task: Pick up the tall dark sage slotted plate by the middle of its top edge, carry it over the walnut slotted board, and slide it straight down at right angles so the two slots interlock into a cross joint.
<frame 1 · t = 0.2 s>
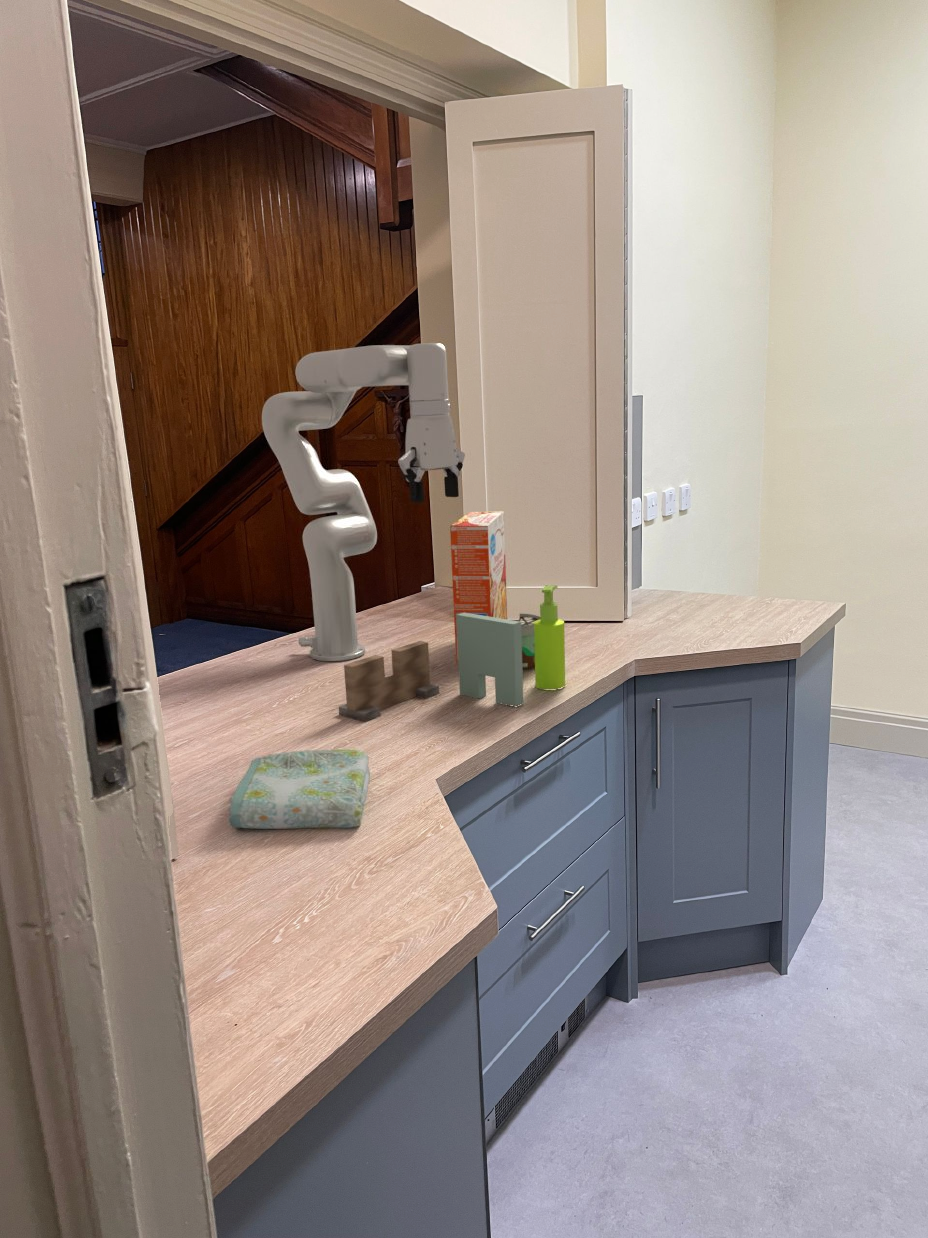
hand: (434, 499, 185), 37 cm above the worktop, tool pointing down, fingers open, 9 cm apart
walnut slotted board: (390, 703, 180), on the worktop
food container: (531, 665, 202), on the worktop
cereal box: (483, 649, 216), on the worktop
towel: (305, 804, 139), on the worktop
soap dispenser: (551, 686, 188), on the worktop
sage slotted plate: (490, 699, 181), on the worktop
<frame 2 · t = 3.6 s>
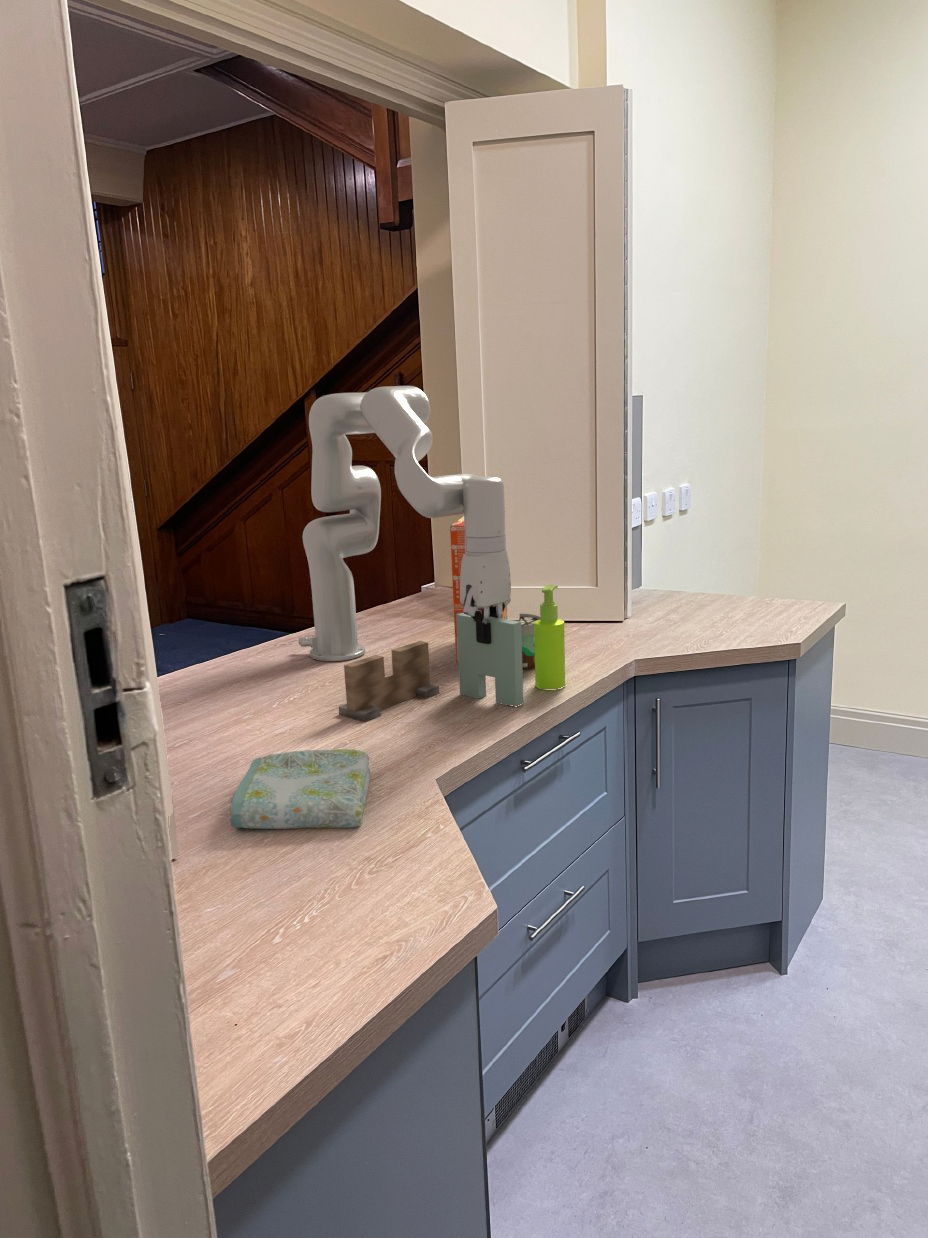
hand: (488, 640, 178), 12 cm above the worktop, tool pointing down, fingers closed on sage slotted plate, 2 cm apart
sage slotted plate: (490, 699, 181), on the worktop, touching gripper
everything else where it was.
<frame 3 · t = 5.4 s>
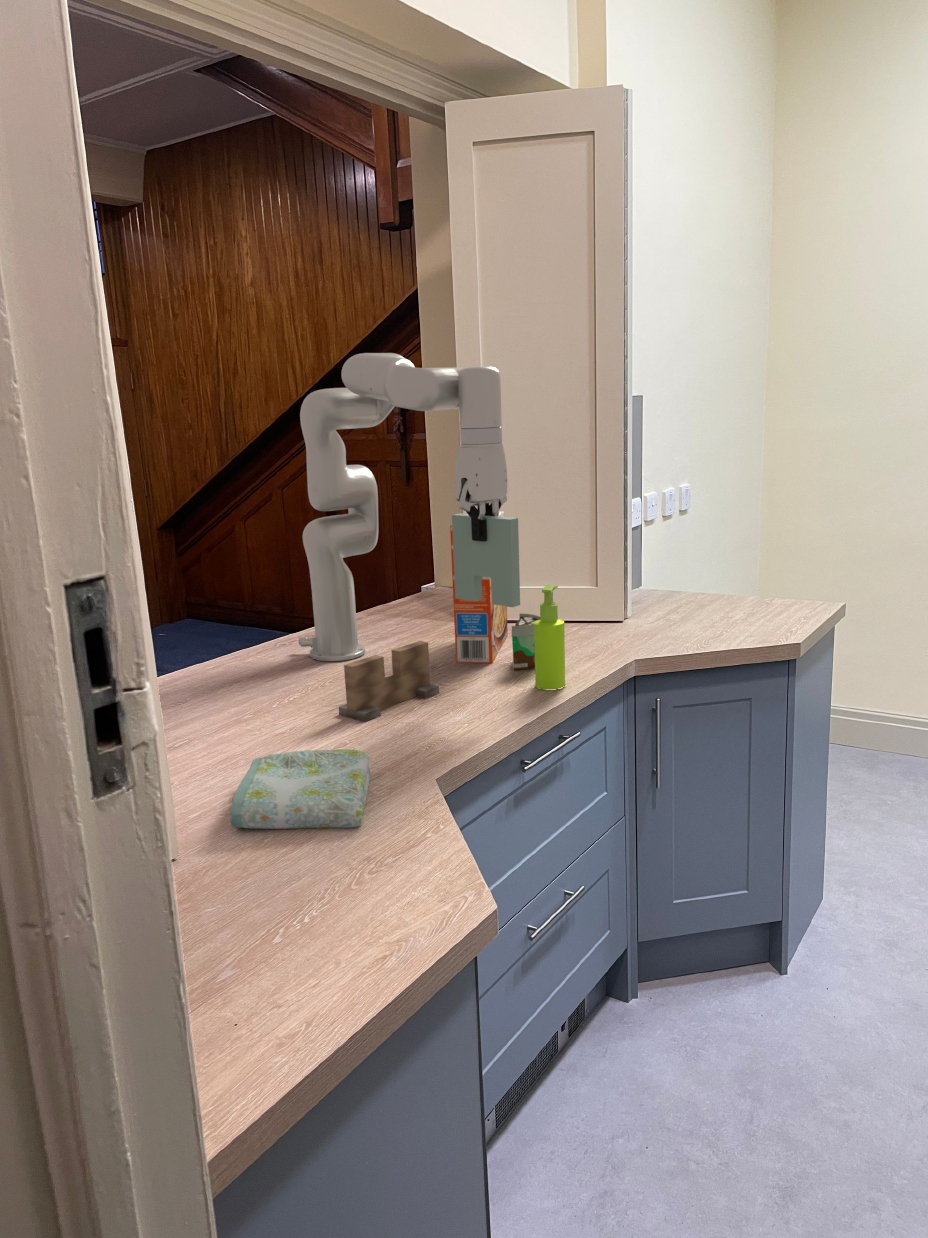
hand: (484, 538, 173), 31 cm above the worktop, tool pointing down, fingers closed on sage slotted plate
sage slotted plate: (487, 601, 176), point 19 cm above the worktop, touching gripper
everything else where it was.
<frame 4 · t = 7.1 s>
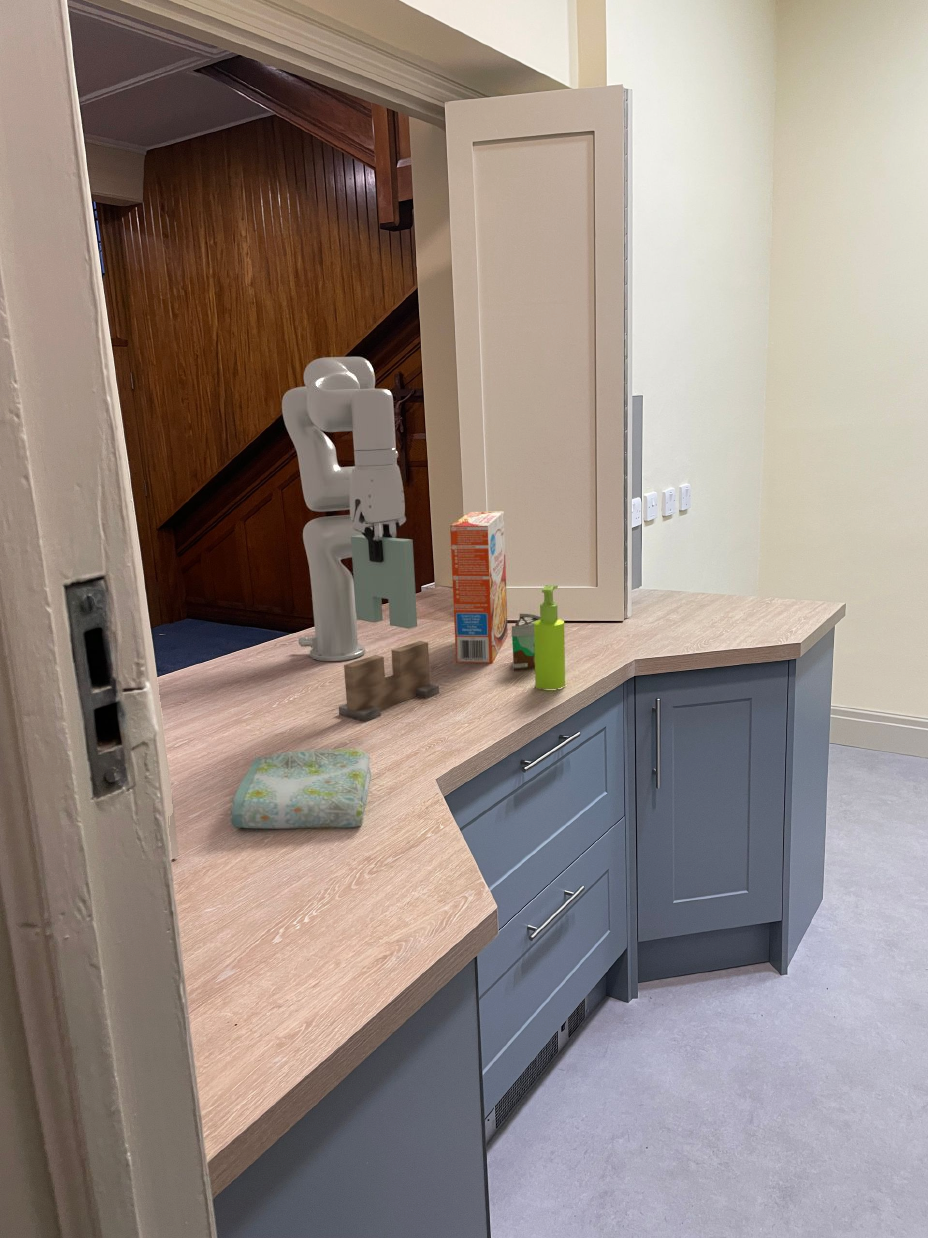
hand: (382, 559, 174), 28 cm above the worktop, tool pointing down, fingers closed on sage slotted plate
sage slotted plate: (386, 622, 176), point 16 cm above the worktop, touching gripper
everything else where it was.
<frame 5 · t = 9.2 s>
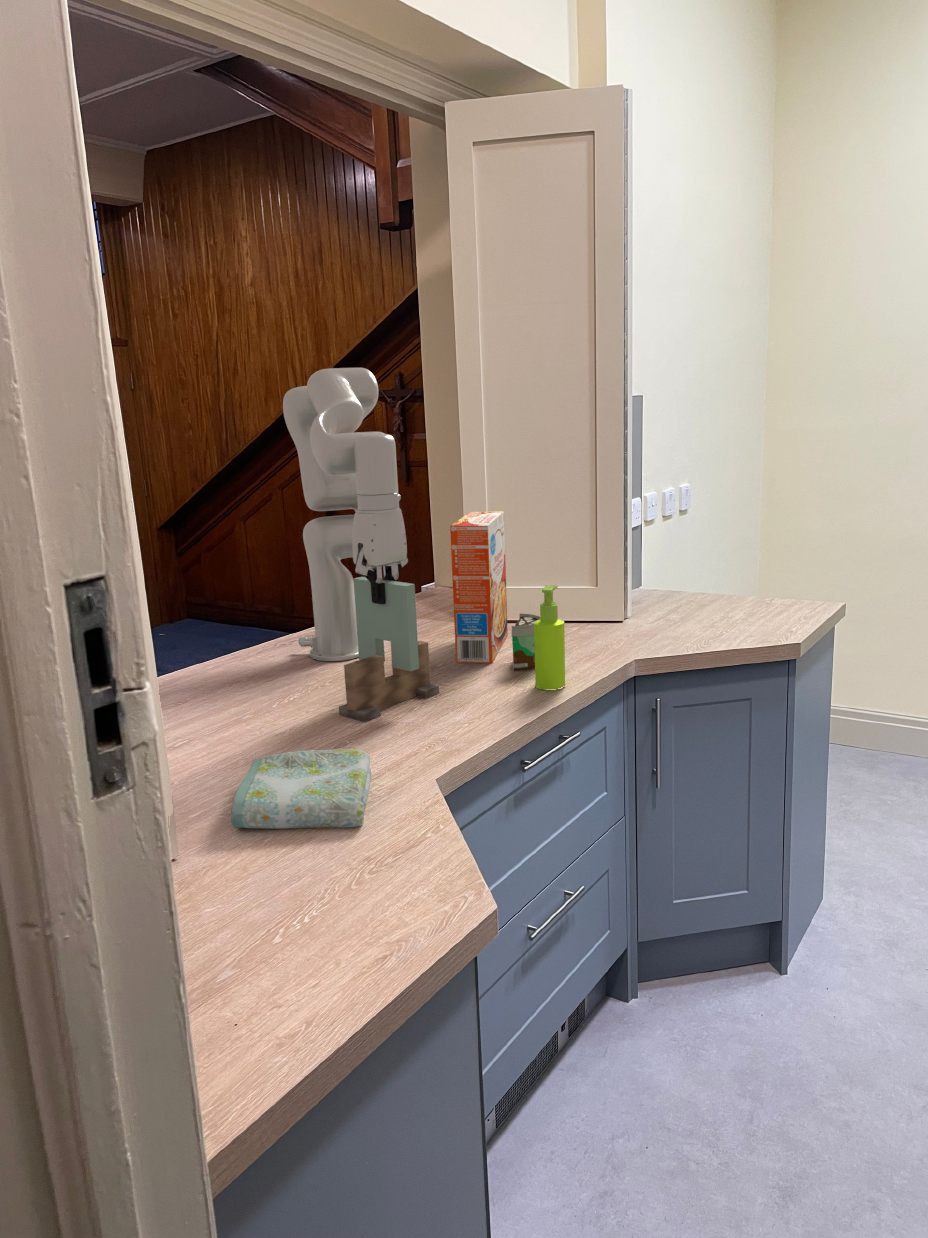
hand: (384, 601, 176), 20 cm above the worktop, tool pointing down, fingers closed on sage slotted plate
sage slotted plate: (388, 664, 178), point 8 cm above the worktop, touching gripper
everything else where it was.
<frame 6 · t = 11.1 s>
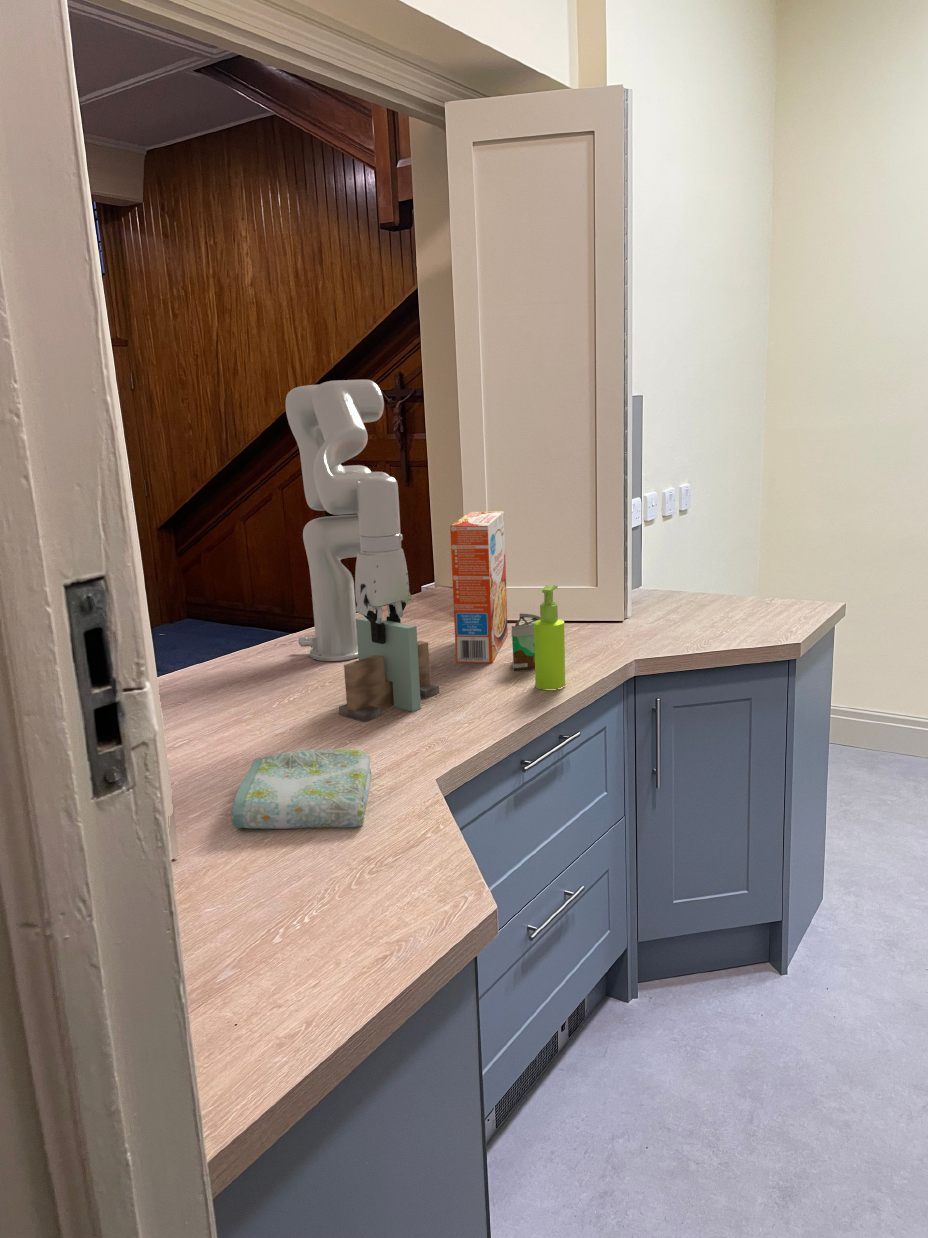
hand: (386, 639, 177), 13 cm above the worktop, tool pointing down, fingers open, 3 cm apart
sage slotted plate: (390, 703, 181), on the worktop, touching walnut slotted board
everything else where it was.
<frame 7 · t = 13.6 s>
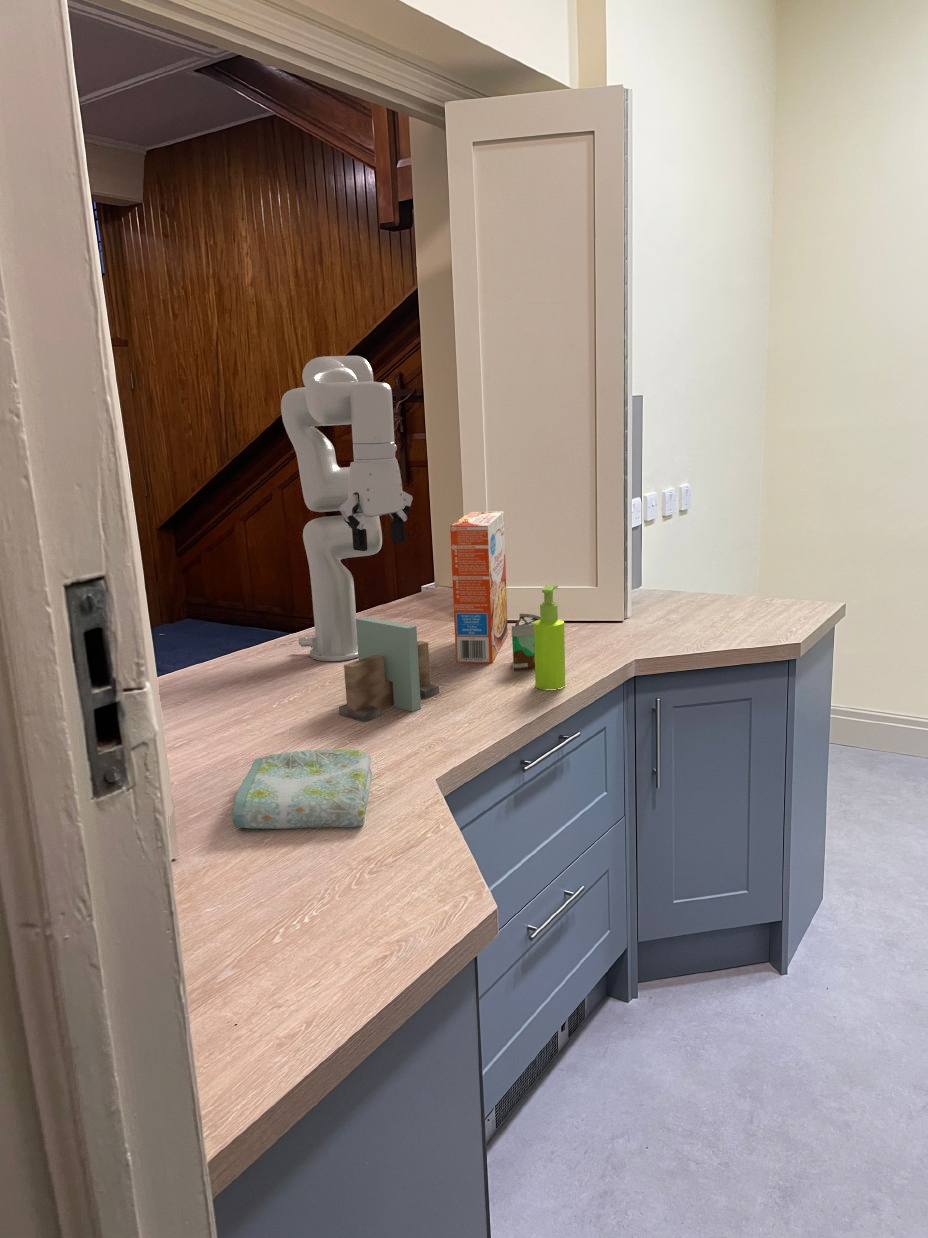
hand: (379, 546, 175), 30 cm above the worktop, tool pointing down, fingers open, 9 cm apart
nothing on the worktop moved.
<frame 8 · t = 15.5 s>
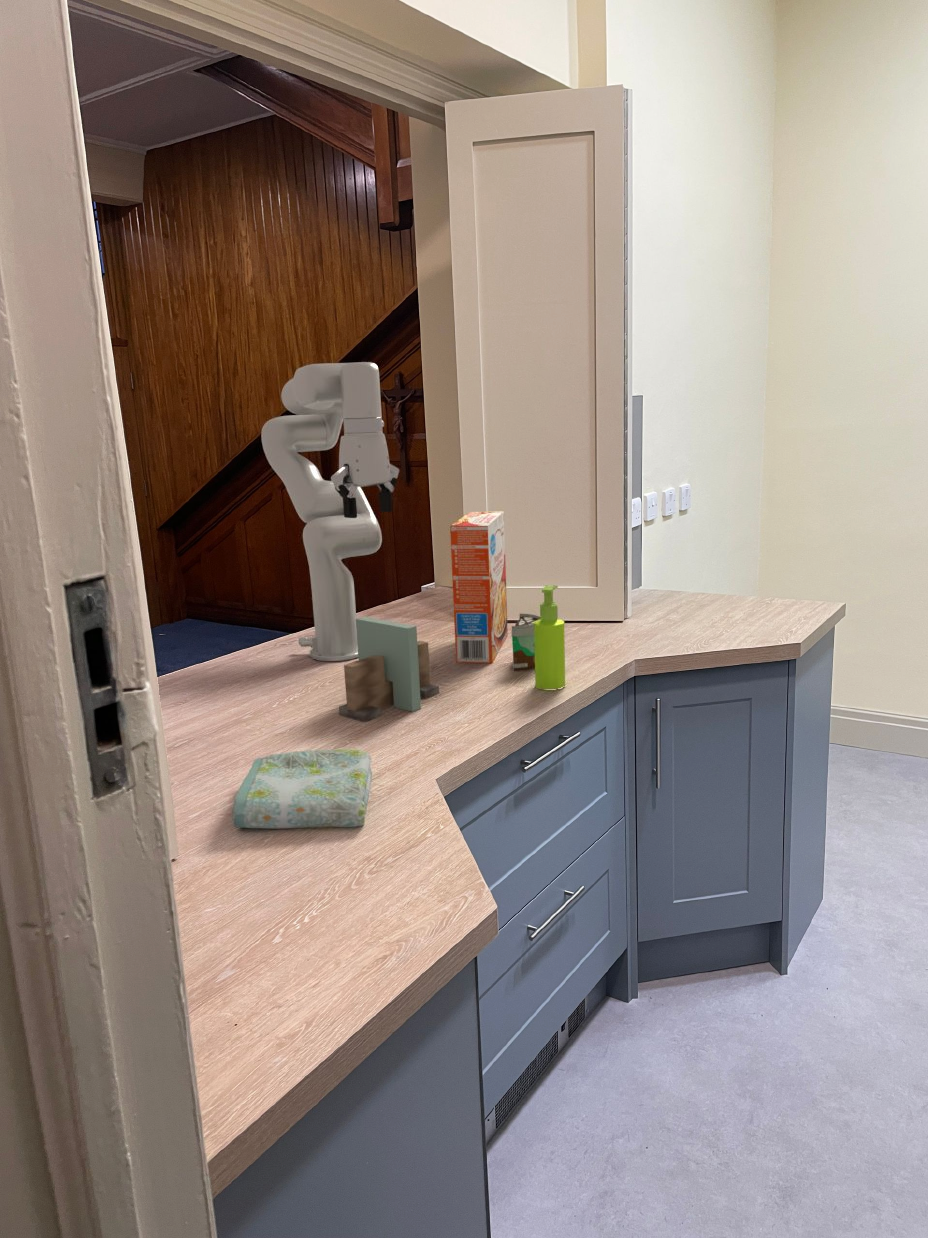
hand: (368, 514, 189), 34 cm above the worktop, tool pointing down, fingers open, 9 cm apart
nothing on the worktop moved.
at the end: sage slotted plate 0.1 cm off-centre on the walnut slotted board, point 0.0 cm above the walnut slotted board's base; sage slotted plate tilted 0°; the gripper is holding nothing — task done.
